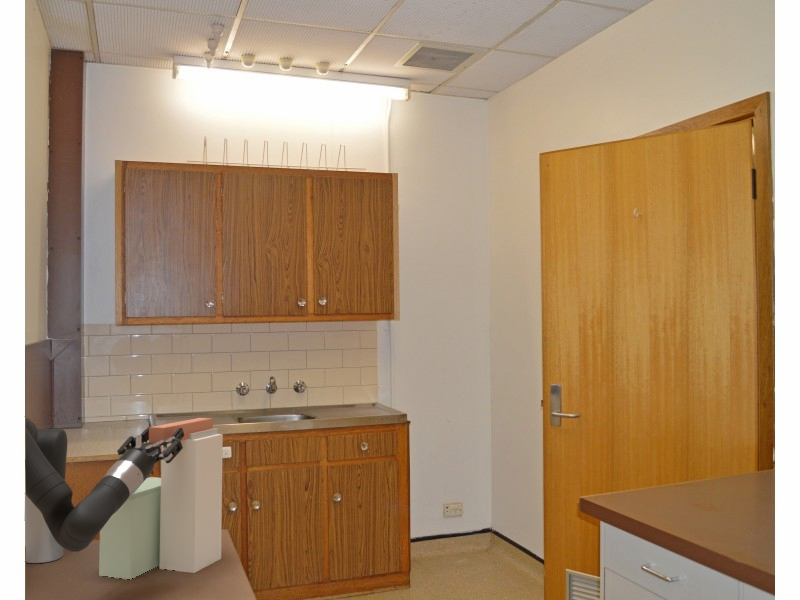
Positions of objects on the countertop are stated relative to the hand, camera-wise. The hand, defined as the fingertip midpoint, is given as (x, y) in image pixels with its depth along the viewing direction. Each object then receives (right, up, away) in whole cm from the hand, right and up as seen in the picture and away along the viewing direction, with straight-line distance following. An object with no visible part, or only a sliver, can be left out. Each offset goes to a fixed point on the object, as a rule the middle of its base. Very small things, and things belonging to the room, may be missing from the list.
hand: (166, 429), depth 176 cm
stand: (+3, -35, +9) cm, 37 cm away
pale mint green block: (-9, -35, +7) cm, 37 cm away
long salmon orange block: (+2, -3, +6) cm, 7 cm away
